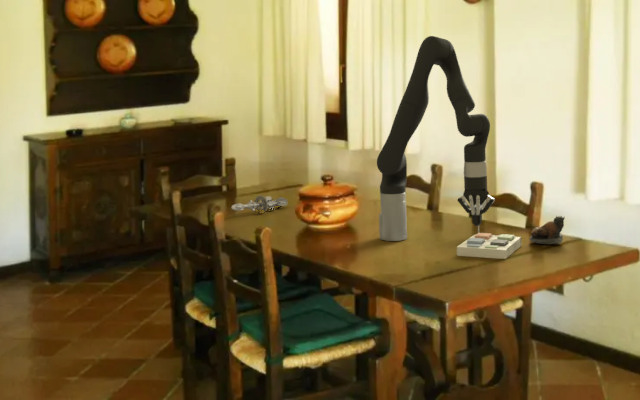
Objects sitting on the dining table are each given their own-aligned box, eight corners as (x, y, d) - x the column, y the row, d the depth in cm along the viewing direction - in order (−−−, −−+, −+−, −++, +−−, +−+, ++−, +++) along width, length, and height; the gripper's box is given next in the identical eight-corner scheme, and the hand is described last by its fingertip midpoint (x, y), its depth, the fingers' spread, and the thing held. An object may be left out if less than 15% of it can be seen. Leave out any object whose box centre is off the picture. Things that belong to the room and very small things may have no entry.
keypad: (456, 255, 299) (456, 245, 298) (475, 242, 316) (475, 232, 315) (505, 259, 291) (505, 248, 290) (521, 245, 308) (521, 235, 308)
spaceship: (222, 201, 376) (235, 195, 371) (278, 196, 403) (291, 190, 398) (227, 219, 375) (240, 214, 370) (283, 213, 402) (296, 207, 397)
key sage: (497, 244, 305) (497, 236, 305) (501, 241, 309) (501, 234, 309) (510, 245, 303) (510, 237, 303) (514, 241, 307) (514, 234, 307)
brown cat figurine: (527, 244, 309) (526, 215, 308) (534, 240, 315) (534, 212, 313) (561, 247, 303) (561, 218, 301) (568, 243, 308) (568, 214, 307)
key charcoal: (490, 249, 298) (490, 242, 298) (494, 246, 302) (494, 239, 302) (504, 250, 296) (503, 243, 296) (507, 247, 300) (507, 240, 300)
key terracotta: (474, 242, 309) (474, 235, 309) (478, 239, 313) (478, 232, 313) (487, 243, 307) (487, 236, 306) (491, 240, 311) (491, 233, 310)
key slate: (467, 248, 302) (467, 240, 302) (471, 244, 306) (471, 237, 306) (480, 248, 300) (480, 241, 299) (484, 245, 304) (484, 238, 303)
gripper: (498, 172, 299) (499, 223, 302) (459, 172, 305) (461, 222, 308) (491, 176, 293) (493, 228, 296) (452, 176, 299) (454, 227, 302)
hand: (477, 225), depth 302 cm, fingers closed
